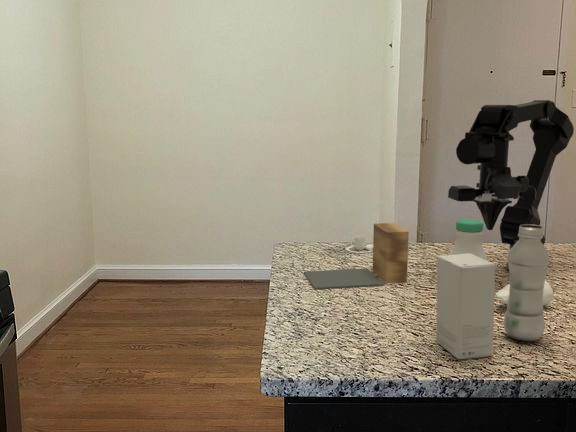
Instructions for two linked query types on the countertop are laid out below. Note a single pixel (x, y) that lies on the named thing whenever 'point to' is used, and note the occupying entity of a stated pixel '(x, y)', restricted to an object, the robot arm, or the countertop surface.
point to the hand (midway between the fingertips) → (489, 229)
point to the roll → (547, 294)
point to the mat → (342, 278)
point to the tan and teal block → (390, 252)
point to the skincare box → (465, 305)
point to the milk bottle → (469, 238)
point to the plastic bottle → (526, 285)
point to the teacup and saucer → (360, 244)
